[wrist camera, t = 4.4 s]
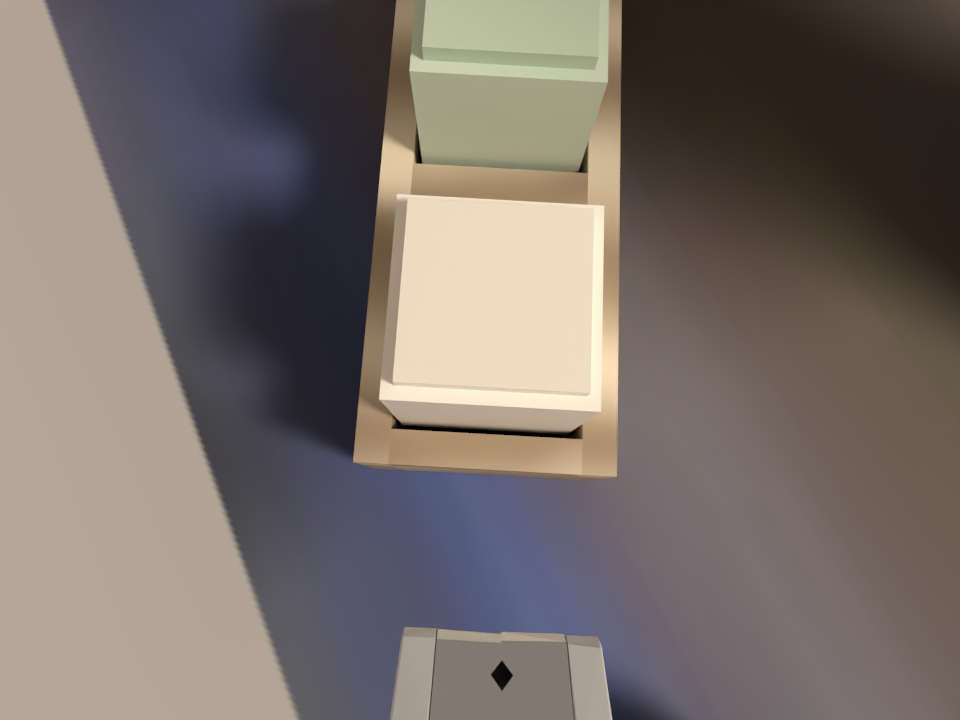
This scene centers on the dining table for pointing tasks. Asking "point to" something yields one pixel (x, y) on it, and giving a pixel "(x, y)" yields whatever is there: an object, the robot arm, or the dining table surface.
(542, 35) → the sage key
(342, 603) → the dining table surface
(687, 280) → the dining table surface
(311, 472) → the dining table surface
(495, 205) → the cream key
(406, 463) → the keypad housing
